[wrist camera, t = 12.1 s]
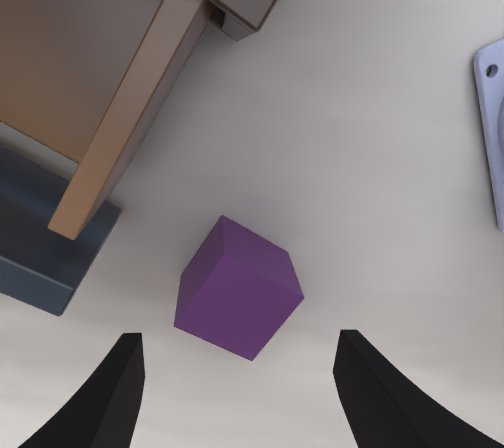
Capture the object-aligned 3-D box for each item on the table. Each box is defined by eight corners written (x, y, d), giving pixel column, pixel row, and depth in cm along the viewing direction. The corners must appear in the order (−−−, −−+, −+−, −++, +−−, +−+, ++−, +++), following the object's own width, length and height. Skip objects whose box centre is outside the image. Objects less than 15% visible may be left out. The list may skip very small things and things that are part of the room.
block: (245, 307, 21) (252, 361, 17) (180, 275, 20) (172, 326, 16) (288, 252, 19) (305, 297, 16) (222, 214, 18) (223, 254, 15)
